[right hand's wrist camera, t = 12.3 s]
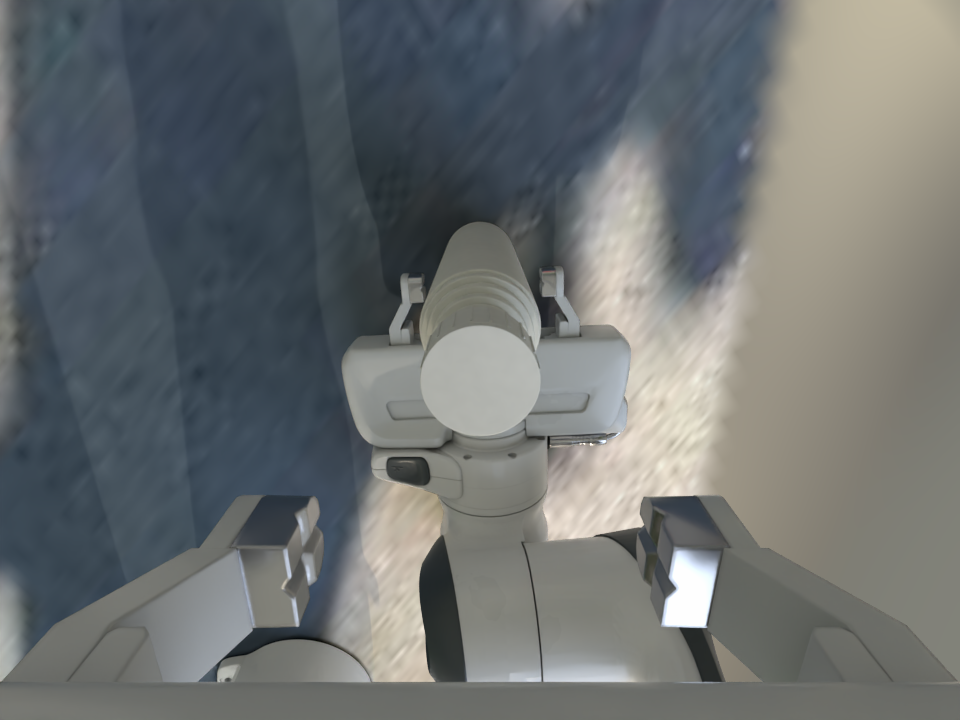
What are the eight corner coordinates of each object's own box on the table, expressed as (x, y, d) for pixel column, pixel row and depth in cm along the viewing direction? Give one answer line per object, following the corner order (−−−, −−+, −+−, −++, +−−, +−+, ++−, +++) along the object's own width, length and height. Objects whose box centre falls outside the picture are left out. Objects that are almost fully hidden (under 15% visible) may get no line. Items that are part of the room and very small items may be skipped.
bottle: (513, 291, 42) (554, 448, 19) (445, 290, 42) (404, 446, 19) (515, 221, 40) (564, 302, 17) (445, 221, 40) (397, 300, 17)
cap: (532, 408, 20) (538, 438, 18) (426, 407, 20) (420, 436, 18) (537, 306, 19) (545, 324, 17) (424, 304, 19) (416, 322, 17)
